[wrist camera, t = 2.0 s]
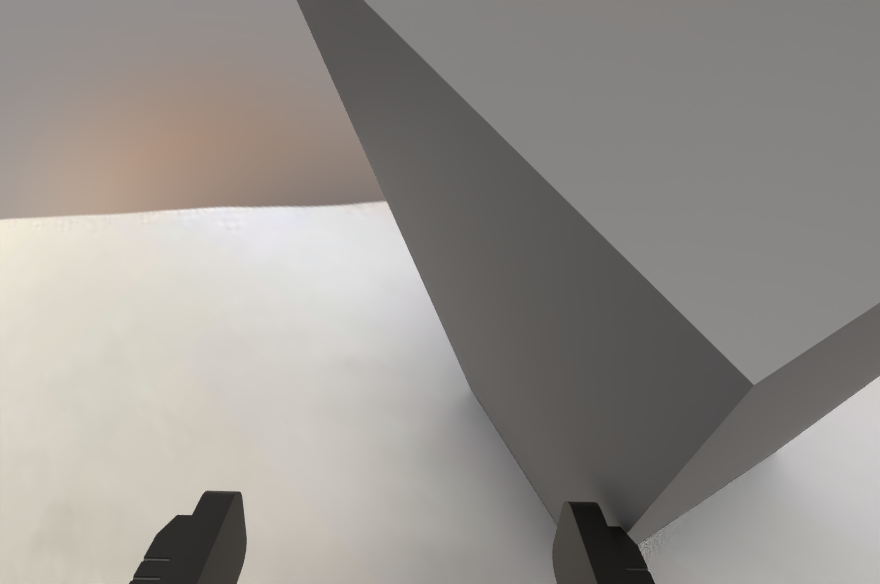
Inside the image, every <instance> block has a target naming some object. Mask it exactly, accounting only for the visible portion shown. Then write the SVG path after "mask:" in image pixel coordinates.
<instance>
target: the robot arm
mask: <svg viewBox="0 0 880 584" xmlns="http://www.w3.org/2000/svg"><path fill="white" fill-rule="evenodd" d="M246 544H247V537H246V527H245V518H244V509H243V500H242V494H241V492H235V491H206V492H205V493H204V494H203V495H202V497H201V498H200V500H199V502H198V504H197V506H196V508H195V510H194V512H193V514H192V515H177V516H176V517H175V518H174V519H172V520H171V521H170V522H169V523H168V524H167V525H166V526H165V527H164V528H163V529H162V530H161V531H160V532H159V533H158V534H157V535H156V537H155V538H154V540H153V542H152V544H151V546H150V547H149V549H148V551H147V553H146V555H145V556H144V561H143V562H141V564H140V565H139V567H138V569H137V571H136V572H135V574H134V578H133V580H132V581H130V583H129V584H237V581H238V578H239V575H240V572H241V570H242V566H243V563H244V559H245V553H246ZM553 567H554V573H555V577H556V581H557V584H655V583H654V580H653V578H652V576H651V574H650V572H648V570H647V568H648V567H647V565H646V563H645V561H644V559H643V556H642V554H641V552H640V550H639V548H638V545H637V544H636V543H635V542H634V541H633V540H632V539H631V538H630V537H629V535H628V534H627V533H626V532H625V531H624V530H623V529H622V528H621V527H620V526H608V525H607V523H606V520H605V518H604V515H603V513H602V510H601V508H600V506H599V505H598V504H597V503H596V502H574V501H565V502H564V503H563V506H562V510H561V514H560V518H559V523H558V527H557V531H556V535H555V540H554V544H553Z"/></svg>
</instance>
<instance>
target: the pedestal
mask: <svg viewBox="0 0 880 584" xmlns="http://www.w3.org/2000/svg"><path fill="white" fill-rule="evenodd" d="M297 2H298V4H299V6H300V9H301V10H302V13H303V15H304V17H305V20H306V22H307V24H308V26H309V29H310V31H311V33H312V35H313V38H314V40H315V42H316V44H317V46H318V49H319V51H320V53H321V55H322V58H323V60H324V62H325V64H326V66H327V69H328V71H329V73H330V75H331V77H332V80H333V82H334V84H335V87H336V89H337V91H338V93H339V95H340V98H341V100H342V102H343V104H344V107H345V109H346V111H347V113H348V116H349V118H350V120H351V122H352V125H353V127H354V129H355V131H356V133H357V136H358V138H359V140H360V142H361V144H362V147H363V149H364V151H365V153H366V156H367V158H368V160H369V162H370V165H371V167H372V169H373V171H374V173H375V176H376V178H377V180H378V182H379V184H380V187H381V189H382V191H383V194H384V196H385V198H386V200H387V203H388V205H389V207H390V209H391V212H392V214H393V216H394V218H395V220H396V223H397V225H398V227H399V229H400V232H401V234H402V236H403V238H404V241H405V243H406V245H407V247H408V249H409V252H410V254H411V256H412V258H413V261H414V263H415V265H416V267H417V270H418V272H419V274H420V276H421V278H422V281H423V283H424V285H425V287H426V290H427V292H428V294H429V296H430V299H431V301H432V303H433V305H434V307H435V310H436V312H437V314H438V316H439V319H440V321H441V323H442V325H443V328H444V330H445V332H446V334H447V336H448V339H449V341H450V343H451V345H452V348H453V350H454V352H455V354H456V357H457V359H458V361H459V363H460V365H461V368H462V370H463V372H464V374H465V377H466V379H467V381H468V383H469V386H470V388H471V390H472V391H473V393H474V395H475V396H476V398H477V399H478V401H479V403H480V404H481V406H482V407H483V409H484V410H485V412H486V414H487V415H488V417H489V418H490V420H491V422H492V423H493V425H494V426H495V428H496V429H497V431H498V433H499V434H500V436H501V437H502V439H503V440H504V442H505V444H506V445H507V447H508V448H509V450H510V452H511V453H512V455H513V456H514V458H515V459H516V461H517V463H518V464H519V466H520V467H521V469H522V471H523V472H524V474H525V475H526V477H527V478H528V480H529V482H530V483H531V485H532V486H533V488H534V490H535V491H536V493H537V494H538V496H539V497H540V499H541V501H542V502H543V504H544V505H545V507H546V509H547V510H548V512H549V513H550V515H551V516H552V518H553V520H554V521H555V523H556V524H557V526H558V523H559V518H560V514H561V510H562V506H563V503H564V502H565V501H574V502H596V503H597V504H598V505H599V506H600V508H601V510H602V513H603V515H604V518H605V520H606V523H607V525H608V526H620V527H621V528H622V529H623V530H624V531H625V532H626V533H627V534H628V535H629V537H630V538H631V539H632V540H633V541H634V542H635V543H636V544H637V545H638V544H640V543H641V542H642V541H644V540H645V539H647V538H648V537H650V536H651V535H653V534H654V533H656V532H657V531H659V530H660V529H662V528H663V527H665V526H666V525H668V524H669V523H671V522H672V521H674V520H675V519H677V518H678V517H679V516H681V515H682V514H684V513H685V512H687V511H688V510H690V509H691V508H693V507H694V506H696V505H697V504H699V503H700V502H702V501H703V500H705V499H706V498H708V497H709V496H711V495H712V494H714V493H715V492H716V491H718V490H719V489H721V488H722V487H724V486H725V485H727V484H728V483H730V482H731V481H733V480H734V479H736V478H737V477H739V476H740V475H742V474H743V473H745V472H746V471H748V470H749V469H750V468H752V467H753V466H755V465H756V464H758V463H759V462H761V461H762V460H764V459H765V458H767V457H768V456H770V455H771V454H773V453H774V452H776V451H777V450H778V449H780V448H781V447H783V446H784V445H785V444H787V443H788V442H789V441H791V440H792V439H794V438H795V437H796V436H798V435H799V434H800V433H802V432H803V431H804V430H806V429H807V428H809V427H810V426H811V425H813V424H814V423H815V422H817V421H818V420H820V419H821V418H822V417H824V416H825V415H826V414H828V413H829V412H831V411H832V410H833V409H835V408H836V407H837V406H839V405H840V404H842V403H843V402H844V401H846V400H847V399H848V398H850V397H851V396H852V395H854V394H855V393H857V392H858V391H859V390H861V389H862V388H863V387H865V386H866V385H868V384H869V383H870V382H872V381H873V380H874V379H876V378H877V377H879V376H880V0H297Z"/></svg>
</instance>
